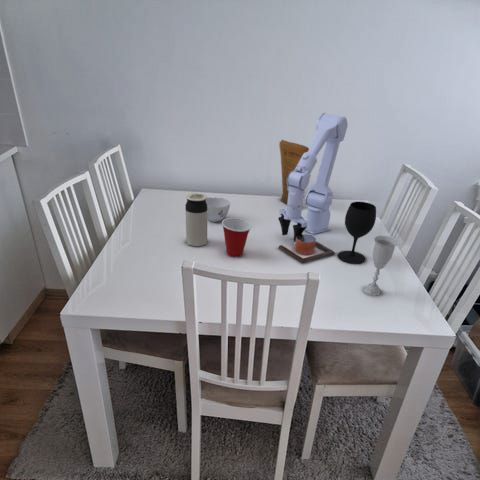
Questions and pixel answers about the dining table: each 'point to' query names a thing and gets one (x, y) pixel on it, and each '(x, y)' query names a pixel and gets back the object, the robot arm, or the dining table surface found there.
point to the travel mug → (196, 219)
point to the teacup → (217, 208)
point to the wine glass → (358, 228)
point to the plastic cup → (235, 235)
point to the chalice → (380, 259)
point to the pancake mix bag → (289, 162)
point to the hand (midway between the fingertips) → (290, 238)
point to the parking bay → (304, 260)
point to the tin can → (305, 244)
